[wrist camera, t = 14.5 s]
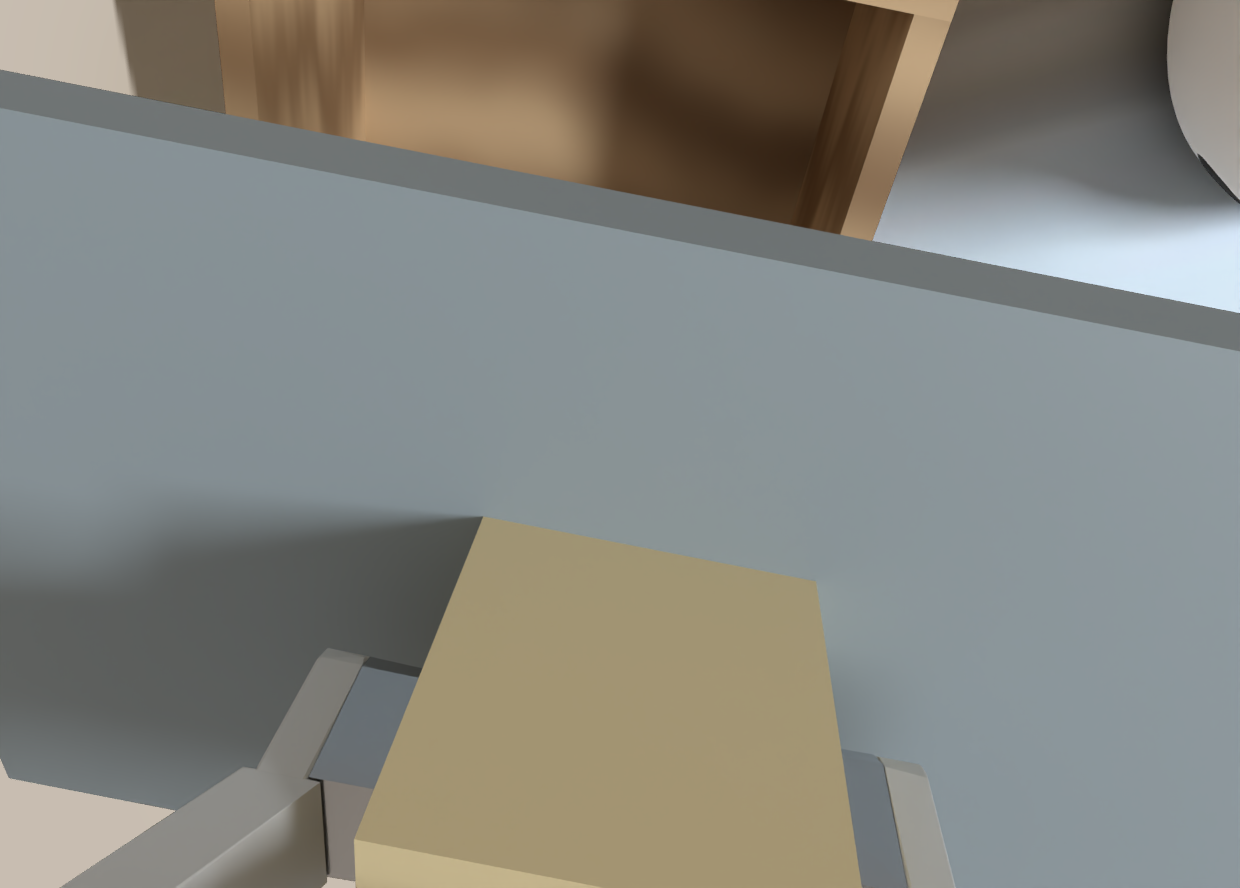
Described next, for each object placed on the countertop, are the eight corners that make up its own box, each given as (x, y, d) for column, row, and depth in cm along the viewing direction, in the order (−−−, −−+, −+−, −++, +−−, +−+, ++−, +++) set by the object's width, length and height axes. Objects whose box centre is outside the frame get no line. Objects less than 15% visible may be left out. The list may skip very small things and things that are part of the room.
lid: (1076, 868, 16) (1255, 1340, 10) (93, 677, 15) (-222, 1054, 10) (1543, 347, 9) (2592, 879, 4) (-104, 24, 9) (-1158, 147, 4)
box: (777, 330, 37) (808, 523, 25) (352, 246, 37) (185, 402, 25) (892, -40, 29) (1019, -9, 17) (345, -154, 28) (88, -202, 17)
